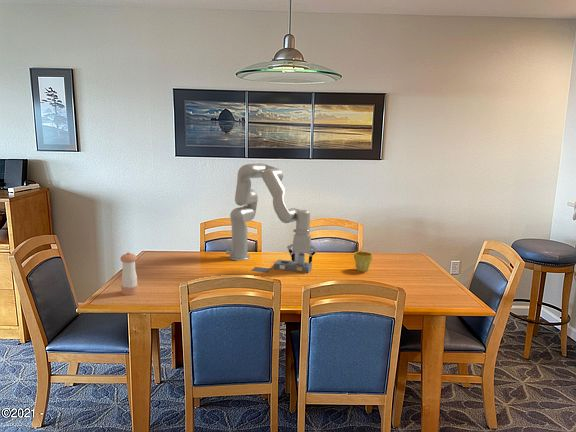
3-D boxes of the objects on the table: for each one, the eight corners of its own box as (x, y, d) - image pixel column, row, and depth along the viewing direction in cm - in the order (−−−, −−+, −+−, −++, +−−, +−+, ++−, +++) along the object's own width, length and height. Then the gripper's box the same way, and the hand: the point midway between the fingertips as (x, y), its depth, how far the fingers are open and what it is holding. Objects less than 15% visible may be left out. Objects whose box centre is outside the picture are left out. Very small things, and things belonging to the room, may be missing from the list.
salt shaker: (135, 295, 192) (134, 254, 188) (119, 295, 191) (117, 254, 188) (140, 289, 199) (138, 250, 196) (124, 289, 198) (122, 250, 195)
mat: (250, 271, 232) (250, 270, 231) (255, 267, 239) (255, 266, 239) (267, 273, 229) (267, 272, 229) (272, 269, 237) (272, 268, 236)
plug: (297, 270, 235) (298, 254, 234) (299, 269, 238) (299, 252, 237) (303, 271, 234) (303, 254, 233) (304, 269, 238) (305, 253, 236)
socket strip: (273, 269, 236) (273, 263, 235) (278, 265, 245) (278, 259, 244) (308, 273, 231) (308, 267, 230) (311, 268, 240) (311, 262, 239)
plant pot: (373, 269, 242) (374, 252, 240) (368, 273, 233) (369, 256, 231) (356, 266, 247) (357, 250, 245) (350, 270, 238) (351, 254, 236)
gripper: (285, 232, 232) (285, 262, 234) (316, 234, 227) (315, 265, 230) (289, 229, 239) (288, 258, 242) (319, 232, 234) (318, 261, 237)
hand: (301, 261), depth 236 cm, fingers open, 9 cm apart
